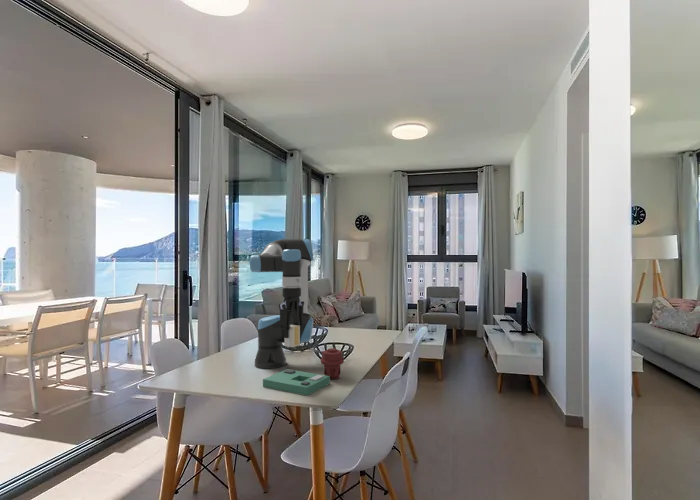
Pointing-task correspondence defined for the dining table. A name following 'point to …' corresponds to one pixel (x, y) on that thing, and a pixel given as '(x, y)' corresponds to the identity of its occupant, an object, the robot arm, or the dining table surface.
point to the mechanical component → (332, 362)
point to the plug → (294, 335)
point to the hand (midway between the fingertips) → (292, 344)
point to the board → (296, 381)
